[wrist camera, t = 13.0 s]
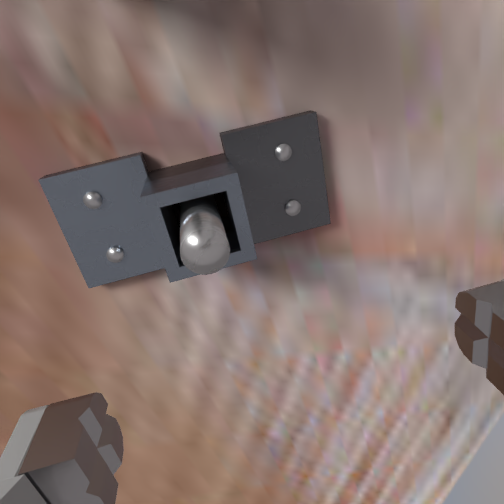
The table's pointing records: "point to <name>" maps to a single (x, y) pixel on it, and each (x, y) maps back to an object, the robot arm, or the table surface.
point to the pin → (202, 236)
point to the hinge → (186, 188)
